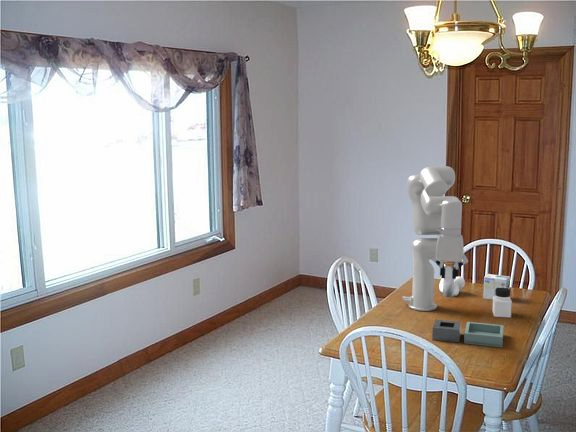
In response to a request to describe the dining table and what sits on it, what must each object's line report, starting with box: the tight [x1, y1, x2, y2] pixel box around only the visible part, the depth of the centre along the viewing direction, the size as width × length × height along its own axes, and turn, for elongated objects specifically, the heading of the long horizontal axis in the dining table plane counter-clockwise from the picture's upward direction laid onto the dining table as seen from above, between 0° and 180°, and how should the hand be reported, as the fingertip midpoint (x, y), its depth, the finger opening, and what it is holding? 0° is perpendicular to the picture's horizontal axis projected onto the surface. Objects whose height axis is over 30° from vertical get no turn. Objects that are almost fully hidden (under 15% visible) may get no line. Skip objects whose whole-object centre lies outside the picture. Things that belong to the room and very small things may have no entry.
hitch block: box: [431, 319, 462, 344], centre depth 258 cm, size 10×10×5 cm
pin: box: [442, 261, 455, 298], centre depth 255 cm, size 5×5×14 cm
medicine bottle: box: [492, 287, 513, 319], centre depth 284 cm, size 7×7×12 cm
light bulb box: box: [482, 273, 511, 301], centre depth 307 cm, size 11×7×11 cm, turn 58°
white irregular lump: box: [438, 276, 466, 297], centre depth 316 cm, size 11×12×9 cm
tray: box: [463, 321, 505, 348], centre depth 256 cm, size 14×14×4 cm
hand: (448, 277), depth 255 cm, fingers closed on pin, 4 cm apart
